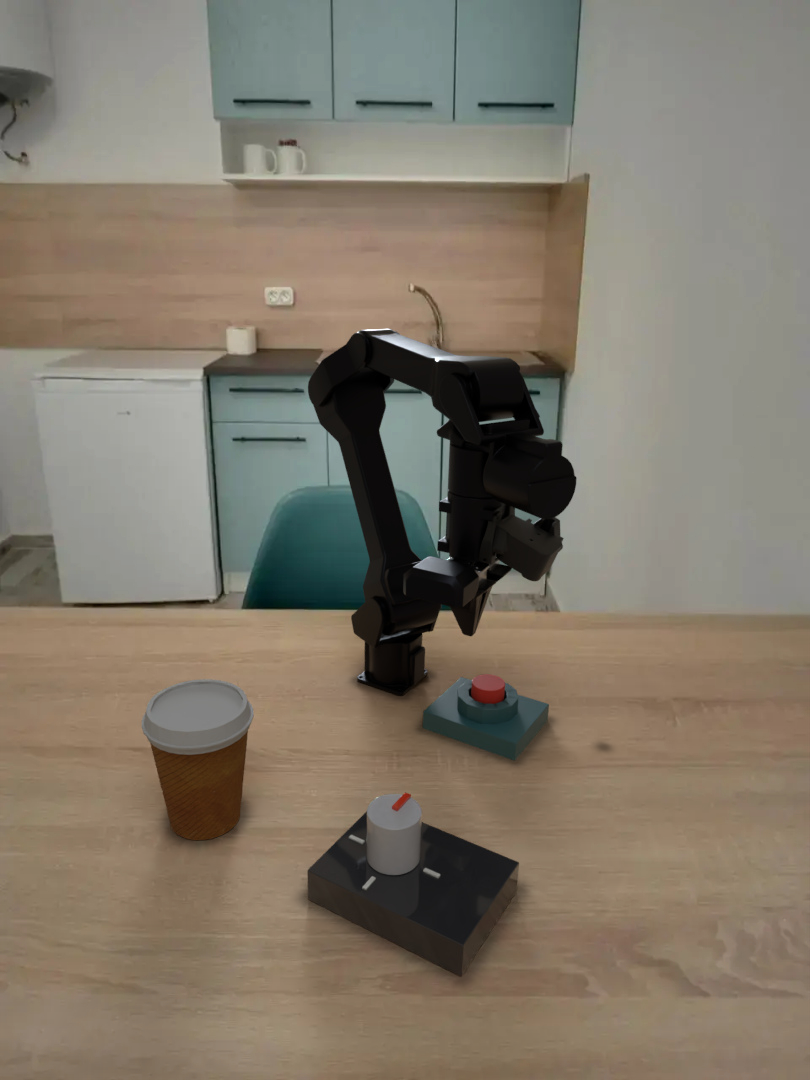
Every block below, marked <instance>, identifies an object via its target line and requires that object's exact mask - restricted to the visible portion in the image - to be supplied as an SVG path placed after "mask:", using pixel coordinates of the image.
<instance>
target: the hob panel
mask: <svg viewBox="0 0 810 1080" xmlns="http://www.w3.org/2000/svg"><path fill="white" fill-rule="evenodd" d="M366 847H367V810H366V811H365V812H364V813H363V814H362V815H361V816H360V817H359V818H358V819H357V820H356V821H355V822H354V823H353V824H352V825H351V826H350V827H349V828H348V829H347V830H346V831H345V832H344V833H343V834H342V835H341V836H340V837H339V838H338V839H337V840H336V841H335V842H334V843H333V844H332V845H331V846H330V847H329V848H328V849H327V850H326V851H325V852H324V853H323V854H322V855H321V856H320V857H319V858H318V859H317V860H316V861H315V862H314V863H313V864H312V865H311V866H310V867H309V868H308V869H307V870H306V872H307V900H308V901H310V902H312V903H314V904H316V905H318V906H320V907H322V908H324V909H326V910H328V911H330V912H332V913H334V914H336V915H338V916H340V917H342V918H344V919H346V920H348V921H350V922H352V923H354V924H357V925H358V926H360V927H362V928H364V929H365V930H368V931H370V932H372V933H374V934H376V935H378V936H379V937H382V938H384V939H386V940H387V941H389V942H392V943H393V944H396V945H397V946H399V947H402V948H403V949H405V950H407V951H409V952H412V953H413V954H416V955H417V956H419V957H421V958H423V959H425V960H427V961H429V962H431V963H433V964H434V965H437V966H439V967H441V968H443V969H444V970H447V971H449V972H451V973H453V974H455V975H457V976H459V977H462V976H463V975H464V974H465V972H466V970H467V969H468V967H469V966H470V964H471V962H472V961H473V960H474V958H475V956H476V955H477V953H478V952H479V950H480V948H481V947H482V946H483V944H484V943H485V941H486V939H487V938H488V936H489V935H490V933H491V932H492V930H493V929H494V927H495V925H496V924H497V922H498V921H499V919H500V918H501V916H502V914H503V913H504V912H505V911H506V908H507V907H508V905H509V904H510V902H511V901H512V899H513V897H514V896H515V894H516V893H517V891H518V880H519V868H520V862H519V861H517V860H515V859H512V858H511V857H508V856H505V855H503V854H500V853H497V852H495V851H493V850H490V849H488V848H485V847H484V846H482V845H479V844H476V843H474V842H471V841H469V840H466V839H464V838H463V837H459V836H457V835H455V834H452V833H450V832H447V831H445V830H442V829H440V828H437V827H436V826H432V825H430V824H428V823H425V822H423V821H422V823H421V850H420V861H419V863H418V865H417V866H416V867H415V868H414V869H413V870H411V871H410V872H407V873H405V874H401V875H386V874H382V873H380V872H378V871H376V870H374V869H373V868H372V867H371V866H370V865H369V863H368V861H367V857H366Z"/></svg>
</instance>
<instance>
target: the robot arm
mask: <svg viewBox="0 0 810 1080" xmlns="http://www.w3.org/2000/svg"><path fill="white" fill-rule="evenodd" d="M395 381H396V382H400V383H401V384H404V385H405V386H406V385H407V386H408V387H410V388H413V389H415V390H417V391H420V392H422V393H424V394H426V395H427V396H429V397H430V399H431V403H432V406H433V408H434V409H435V410H436V411H438V412H439V413H440V414H441V415H442V416H444V417H445V418H446V419H448V420H447V422H445V423H444V424H442V425H441V426H440V427H439V428H437V430H436V435H437V437H439V438H442V439H445V440H449V451H448V471H447V472H448V473H447V493H446V494H447V495H446V497H445V498H443V499H441V500H439V502H438V512H440V513H446V517H445V518H446V519H445V520H446V521H445V535H444V536H443V537H442V538H440V539H439V540H437V549H436V550H437V552H442V553H447V554H448V556H449V557H448V558H447V559H445V558H439V557H435V556H431V555H429V556H427V557H425V558H424V559H423V560H422V559H421V558H420V557H419V555H418V554H416V553H415V552H414V551H413V549H412V547H411V545H410V541H409V537H408V533H407V530H406V526H405V523H404V517H403V514H402V511H401V507H400V503H399V499H398V496H397V493H396V488H395V485H394V481H393V476H392V473H391V470H390V466H389V462H388V459H387V455H386V451H385V448H384V443H383V440H382V436H381V432H380V430H381V426H382V422H383V420H384V415H385V412H386V410H387V403H386V397H385V394H386V392H387V391H388V390H389V388H391V387H392V385H393V384H394V383H395ZM307 394H308V399H309V401H310V402H311V404H312V405H313V409H314V412H315V414H316V417H317V420H318V422H319V424H320V426H322V428H323V429H324V430H325V431H326V432H328V433H329V435H330V436H331V437H332V438H334V440H335V441H336V442H337V443H338V445H339V449H340V452H341V456H342V460H343V464H344V467H345V472H346V475H347V479H348V483H349V486H350V490H351V495H352V498H353V501H354V505H355V509H356V513H357V517H358V521H359V525H360V528H361V532H362V537H363V540H364V544H365V547H366V551H367V555H368V558H369V563H368V566H367V570H366V573H365V576H364V580H363V584H362V590H363V591H362V592H363V596H364V602H363V604H362V605H361V606H360V607H358V609H357V610H356V611H354V613H352V614H351V616H350V618H351V625H352V631H353V634H354V635H356V637H357V638H358V637H359V638H360V639H361V640H362V641H363V642H364V657H363V658H364V664H363V666H364V670H363V671H362V672H361V673H359V674H358V675H357V676H356V681H357V682H358V683H361V684H363V685H367V686H369V687H373V688H376V689H379V690H381V691H384V692H388V693H391V694H394V695H396V696H404V695H405V694H406V693H407V692H409V691H410V690H411V689H412V688H414V687H415V686H416V685H417V684H418V683H419V682H421V681H422V680H423V679H425V677H427V675H428V669H426V668H425V667H426V665H425V664H426V648H425V646H423V634H425V633H430V632H433V631H434V629H435V626H436V623H437V620H438V617H439V615H440V611H441V610H442V606H445V607H449V608H450V610H451V612H452V614H453V616H454V618H455V620H456V623H457V625H458V627H459V628H460V631H461V633H462V635H464V636H467V637H473V636H474V635H475V634H476V633H477V630H478V627H479V624H480V621H481V620H482V619H481V618H482V616H483V613H484V611H485V608H486V604H487V602H488V599H489V596H490V593H491V591H492V589H493V586H495V585H496V584H497V582H499V581H501V580H502V579H503V578H504V577H505V576H506V575H508V574H509V573H510V572H511V571H512V569H513V570H514V571H516V572H518V573H520V575H521V576H522V578H524V579H526V580H528V581H530V582H538V581H540V580H541V579H542V577H544V576H545V574H546V573H548V572H550V570H551V568H552V565H553V564H554V562H555V561H556V558H557V557H558V554H559V552H561V551H562V550H563V548H564V545H563V541H564V539H565V538H564V537H562V536H561V520H560V519H559V518H557V517H558V516H560V514H562V513H563V512H565V510H566V509H567V508H568V507H569V504H571V502H572V500H573V497H574V494H575V492H576V487H577V479H578V478H577V476H576V474H575V469H574V466H573V464H572V463H571V461H570V460H569V458H567V457H565V456H564V455H562V454H563V442H562V441H560V440H557V439H554V438H543V437H541V436H543V435H544V433H545V429H544V427H543V424H542V422H541V419H540V418H541V415H540V414H539V412H538V410H537V408H536V406H535V404H534V402H533V398H532V396H531V394H530V391H529V389H528V385H527V383H526V380H525V378H524V376H523V374H522V372H521V367H520V365H519V364H518V363H517V361H516V360H514V359H512V358H510V357H504V356H503V357H502V356H489V355H457V354H454V353H451V352H448V351H446V350H443V349H441V348H437V347H435V346H432V345H430V344H426V343H424V342H421V341H418V340H415V339H413V338H411V337H410V338H409V337H408V336H406V335H405V336H404V335H402V334H400V333H399V332H398V331H397V330H393V329H392V328H379V329H377V328H376V329H361V330H358V331H357V332H354V333H353V334H352V335H351V336H350V337H349V339H348V340H347V341H346V343H345V344H344V345H342V346H341V347H339V348H338V349H337V350H335V351H334V352H332V353H331V354H329V355H328V356H326V357H325V358H323V359H322V360H321V361H320V363H319V364H318V366H316V368H315V370H314V371H313V373H312V375H311V376H310V378H309V380H308V382H307ZM512 418H513V419H512ZM506 419H507V420H506ZM508 419H511V420H508ZM500 420H501V421H500ZM502 420H504V421H502ZM492 421H495V422H492ZM485 422H488V423H485ZM480 423H481V424H480ZM516 510H519V511H521V512H524V513H526V514H529V515H531V516H534V517H536V518H539V519H538V520H536V521H535V522H533V523H532V521H533V519H531V518H527V519H526V520H525V519H523V518H520V517H518V516H517V515H516Z"/></svg>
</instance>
